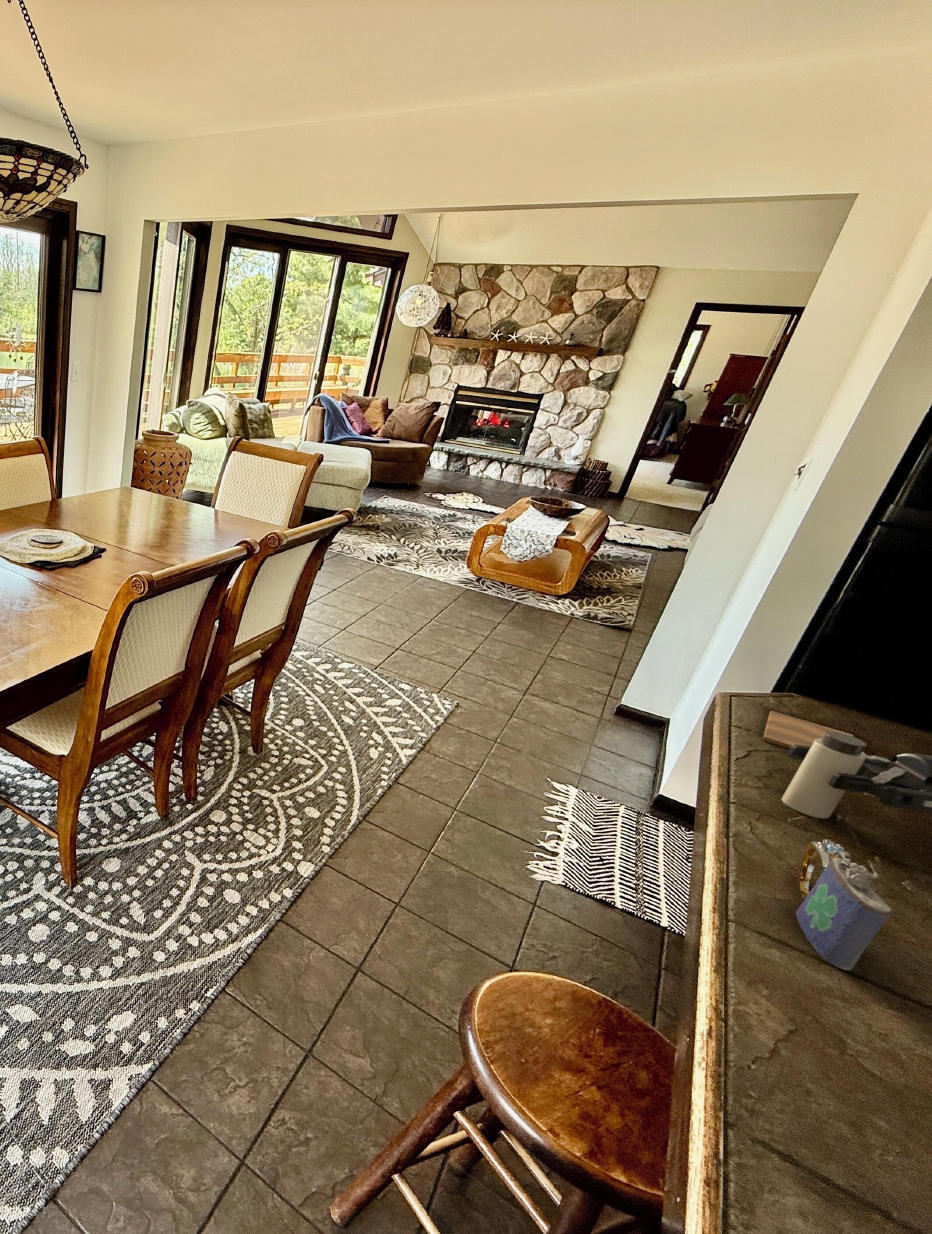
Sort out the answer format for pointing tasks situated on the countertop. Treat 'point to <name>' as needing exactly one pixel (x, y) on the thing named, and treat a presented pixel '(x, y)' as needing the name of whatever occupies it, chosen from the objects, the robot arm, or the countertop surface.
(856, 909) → the flask
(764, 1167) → the countertop surface
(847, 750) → the salt mill
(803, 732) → the wooden board
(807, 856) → the ring
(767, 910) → the countertop surface
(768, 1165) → the countertop surface
